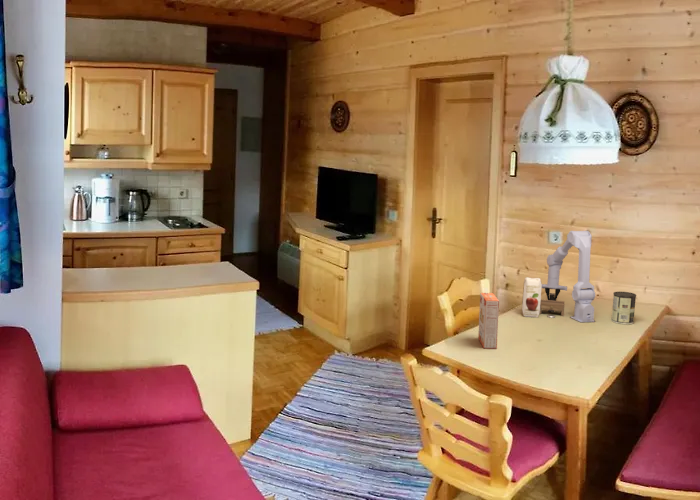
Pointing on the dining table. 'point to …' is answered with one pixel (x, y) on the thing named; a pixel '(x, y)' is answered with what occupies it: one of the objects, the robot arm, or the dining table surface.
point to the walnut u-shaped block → (552, 306)
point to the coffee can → (623, 307)
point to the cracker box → (488, 320)
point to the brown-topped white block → (552, 296)
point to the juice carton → (531, 297)
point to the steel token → (551, 316)
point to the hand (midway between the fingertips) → (551, 302)
